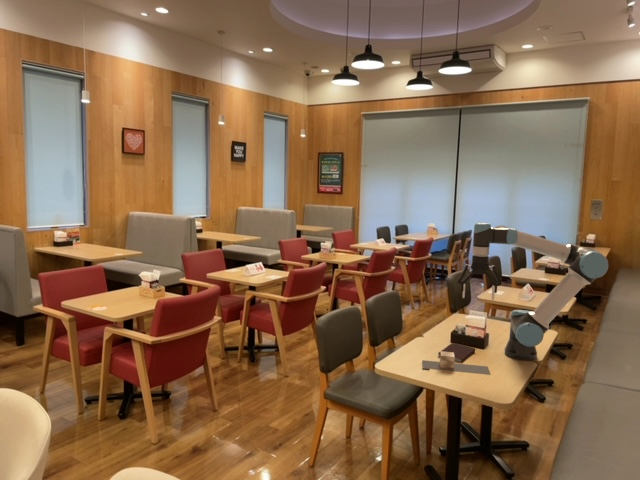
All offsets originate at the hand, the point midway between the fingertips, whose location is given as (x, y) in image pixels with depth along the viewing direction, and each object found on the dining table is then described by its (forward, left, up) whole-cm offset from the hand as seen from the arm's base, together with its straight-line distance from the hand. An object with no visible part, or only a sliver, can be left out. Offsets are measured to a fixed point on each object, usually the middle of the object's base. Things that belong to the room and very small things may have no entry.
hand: (478, 298), depth 231 cm
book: (+8, -3, -31) cm, 33 cm away
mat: (+10, +15, -31) cm, 35 cm away
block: (+14, +15, -24) cm, 31 cm away
